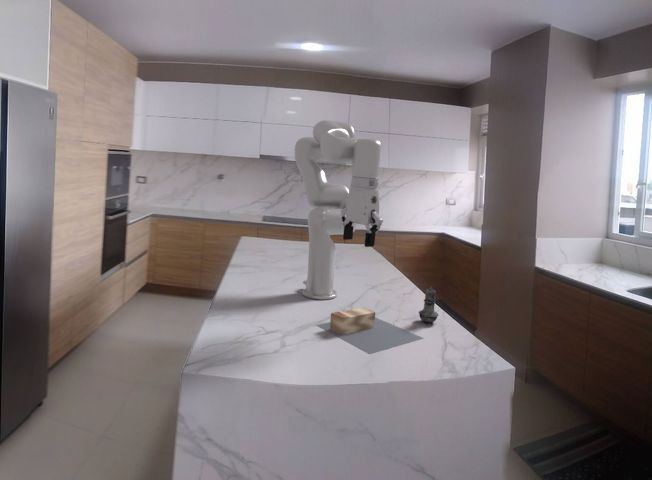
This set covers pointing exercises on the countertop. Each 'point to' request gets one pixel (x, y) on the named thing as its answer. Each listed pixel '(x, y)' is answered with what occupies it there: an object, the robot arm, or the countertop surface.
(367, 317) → the beige brown block
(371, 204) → the robot arm
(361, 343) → the slate mat
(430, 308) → the grey chess piece
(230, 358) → the countertop surface
